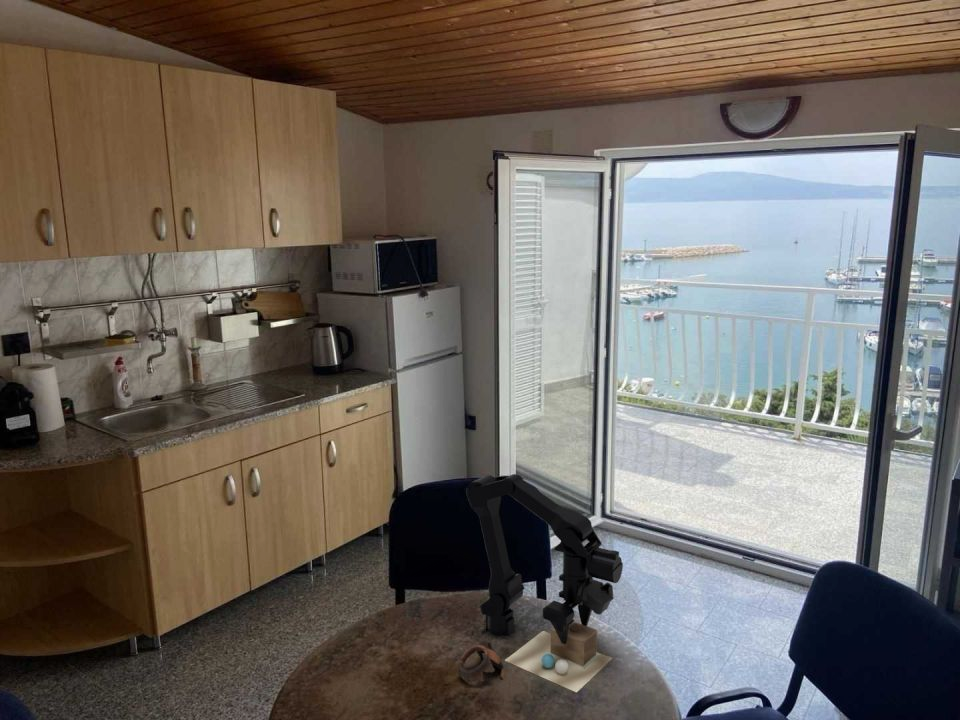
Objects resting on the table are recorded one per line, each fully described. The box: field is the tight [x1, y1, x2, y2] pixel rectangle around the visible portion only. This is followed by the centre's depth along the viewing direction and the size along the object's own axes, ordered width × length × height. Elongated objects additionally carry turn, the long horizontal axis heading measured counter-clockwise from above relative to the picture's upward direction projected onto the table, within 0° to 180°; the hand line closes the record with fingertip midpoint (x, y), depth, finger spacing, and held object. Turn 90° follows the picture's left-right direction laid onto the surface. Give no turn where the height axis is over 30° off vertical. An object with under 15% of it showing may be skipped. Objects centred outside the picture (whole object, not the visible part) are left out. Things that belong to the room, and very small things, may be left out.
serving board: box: [504, 630, 613, 693], centre depth 162 cm, size 19×16×1 cm
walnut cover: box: [550, 621, 598, 666], centre depth 163 cm, size 9×6×7 cm
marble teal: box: [541, 654, 555, 668], centre depth 158 cm, size 3×3×3 cm
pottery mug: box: [458, 639, 506, 683], centre depth 157 cm, size 12×10×8 cm
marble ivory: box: [555, 659, 569, 674], centre depth 156 cm, size 3×3×3 cm
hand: (574, 634), depth 163 cm, fingers open, 9 cm apart
